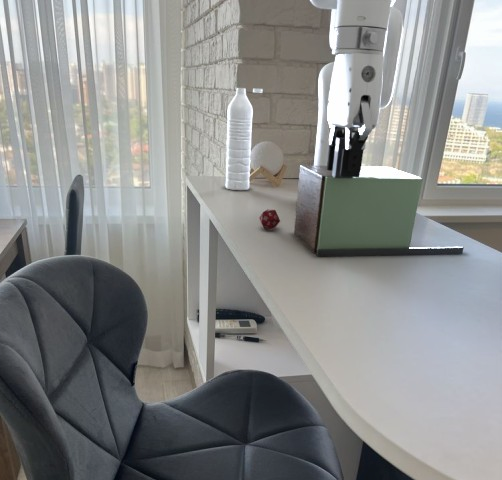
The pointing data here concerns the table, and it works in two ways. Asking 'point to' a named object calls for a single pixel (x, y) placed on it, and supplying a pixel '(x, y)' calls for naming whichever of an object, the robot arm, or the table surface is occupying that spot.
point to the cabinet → (312, 206)
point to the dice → (269, 219)
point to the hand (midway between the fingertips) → (342, 172)
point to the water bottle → (239, 141)
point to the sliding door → (367, 209)
